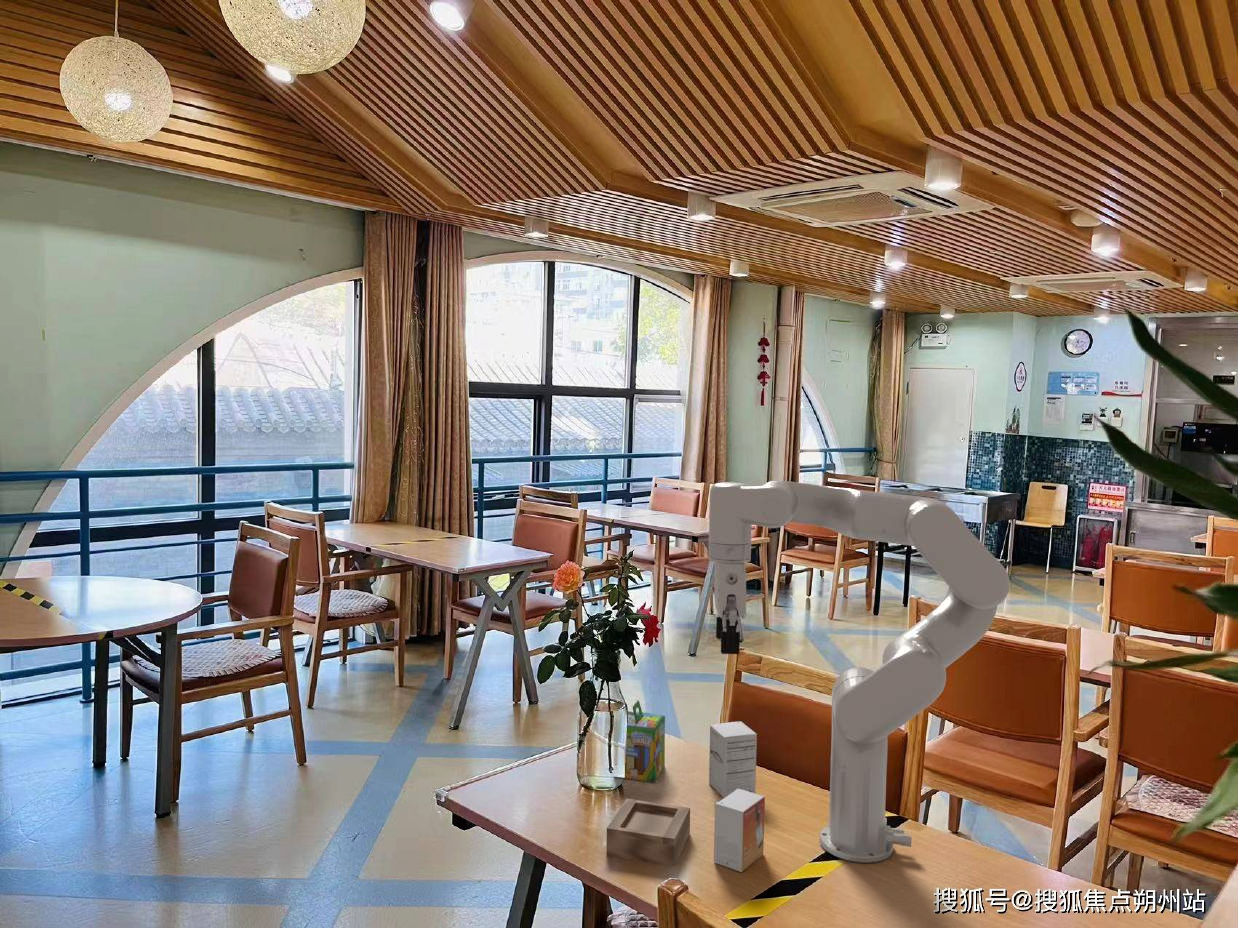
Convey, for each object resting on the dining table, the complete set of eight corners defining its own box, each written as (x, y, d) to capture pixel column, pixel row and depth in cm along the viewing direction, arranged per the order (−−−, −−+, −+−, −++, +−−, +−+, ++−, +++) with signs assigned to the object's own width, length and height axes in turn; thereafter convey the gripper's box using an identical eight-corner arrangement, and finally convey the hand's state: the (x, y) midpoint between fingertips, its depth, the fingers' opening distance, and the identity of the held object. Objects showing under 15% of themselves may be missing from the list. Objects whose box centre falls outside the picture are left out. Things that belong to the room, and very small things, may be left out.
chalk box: (654, 784, 183) (655, 713, 182) (612, 778, 186) (612, 708, 185) (666, 766, 192) (667, 699, 191) (625, 760, 195) (626, 694, 194)
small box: (741, 873, 149) (742, 812, 148) (712, 863, 152) (713, 803, 152) (764, 854, 155) (765, 795, 155) (736, 844, 159) (737, 787, 158)
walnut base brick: (689, 835, 163) (690, 807, 162) (674, 868, 151) (674, 838, 151) (626, 825, 166) (626, 798, 166) (606, 857, 155) (606, 828, 154)
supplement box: (707, 783, 184) (708, 723, 183) (740, 779, 186) (742, 720, 185) (722, 799, 177) (723, 736, 176) (756, 794, 179) (757, 732, 178)
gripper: (756, 561, 151) (754, 660, 153) (745, 544, 169) (742, 633, 170) (712, 560, 152) (710, 659, 153) (705, 543, 169) (703, 632, 170)
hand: (727, 645), depth 161 cm, fingers open, 9 cm apart
